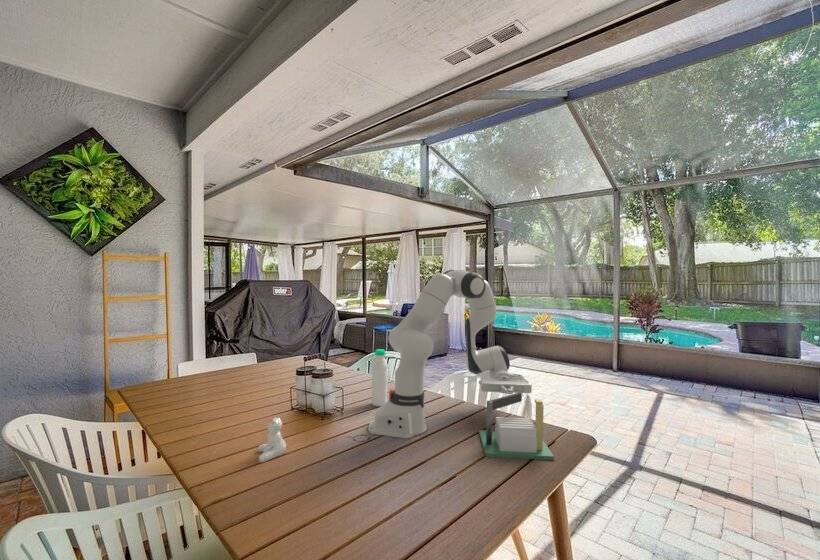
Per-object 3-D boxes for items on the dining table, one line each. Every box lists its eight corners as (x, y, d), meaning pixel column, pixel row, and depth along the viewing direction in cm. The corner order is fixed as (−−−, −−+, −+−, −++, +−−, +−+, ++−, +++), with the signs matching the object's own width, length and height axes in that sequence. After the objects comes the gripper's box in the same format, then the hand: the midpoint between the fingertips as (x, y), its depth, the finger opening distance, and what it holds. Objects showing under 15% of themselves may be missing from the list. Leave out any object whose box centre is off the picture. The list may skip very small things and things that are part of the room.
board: (485, 456, 123) (486, 405, 123) (479, 433, 141) (480, 388, 141) (553, 460, 121) (555, 407, 121) (538, 435, 139) (539, 390, 139)
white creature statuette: (258, 450, 125) (258, 414, 125) (285, 445, 128) (285, 411, 128) (258, 463, 116) (259, 425, 116) (287, 458, 120) (288, 421, 120)
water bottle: (384, 407, 166) (385, 351, 166) (369, 406, 168) (370, 350, 167) (388, 402, 173) (389, 348, 173) (374, 400, 175) (375, 347, 174)
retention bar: (489, 444, 128) (489, 402, 128) (484, 442, 130) (485, 401, 130) (521, 432, 139) (522, 393, 139) (517, 430, 141) (518, 392, 140)
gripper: (478, 373, 160) (482, 383, 146) (526, 375, 158) (535, 384, 144) (477, 388, 160) (482, 399, 146) (526, 390, 158) (535, 401, 145)
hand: (509, 392), depth 145 cm, fingers closed
